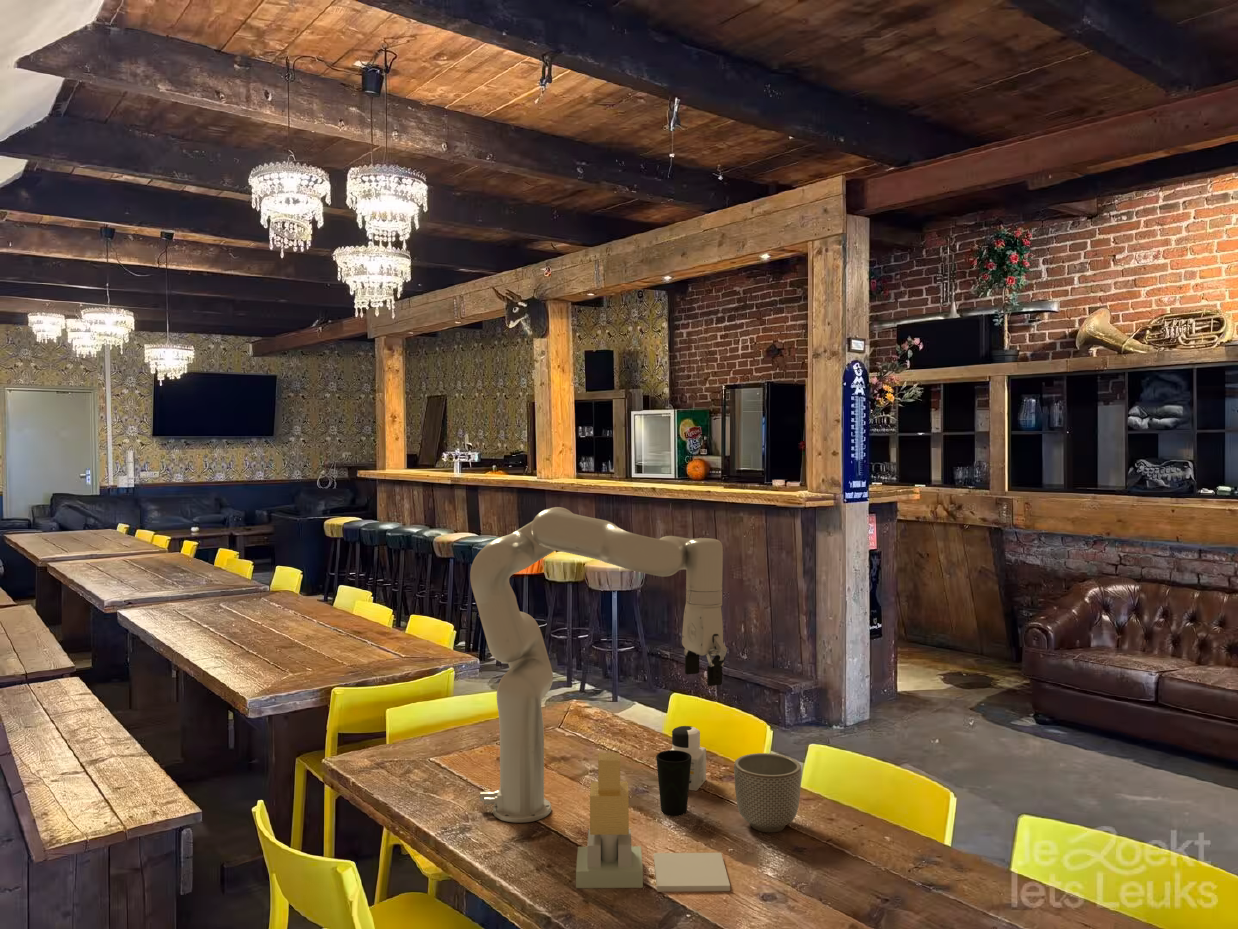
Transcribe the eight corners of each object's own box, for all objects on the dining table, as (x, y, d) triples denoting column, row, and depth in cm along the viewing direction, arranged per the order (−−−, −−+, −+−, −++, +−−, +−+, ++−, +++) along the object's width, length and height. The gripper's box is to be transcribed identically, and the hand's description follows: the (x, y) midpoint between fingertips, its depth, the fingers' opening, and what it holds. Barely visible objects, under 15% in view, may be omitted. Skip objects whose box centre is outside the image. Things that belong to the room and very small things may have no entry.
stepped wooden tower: (590, 834, 162) (589, 763, 162) (590, 818, 169) (590, 750, 169) (628, 834, 162) (628, 763, 162) (627, 818, 169) (627, 750, 169)
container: (665, 786, 209) (665, 731, 209) (675, 775, 216) (675, 722, 216) (696, 791, 206) (696, 735, 206) (706, 780, 213) (706, 725, 213)
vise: (576, 888, 161) (575, 805, 161) (578, 862, 171) (577, 784, 171) (642, 887, 161) (642, 804, 161) (640, 862, 171) (640, 784, 171)
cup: (689, 819, 191) (689, 763, 190) (653, 816, 192) (653, 761, 192) (693, 805, 198) (693, 751, 198) (659, 802, 200) (659, 749, 199)
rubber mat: (657, 891, 160) (657, 886, 160) (653, 858, 173) (653, 853, 173) (730, 891, 160) (730, 885, 160) (721, 857, 173) (721, 852, 173)
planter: (786, 846, 178) (786, 781, 177) (722, 830, 185) (722, 768, 185) (811, 821, 190) (811, 760, 189) (750, 807, 197) (750, 748, 197)
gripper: (669, 592, 194) (668, 671, 194) (708, 606, 178) (707, 691, 178) (700, 590, 197) (699, 668, 197) (741, 603, 181) (740, 688, 181)
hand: (703, 679), depth 188 cm, fingers open, 9 cm apart
